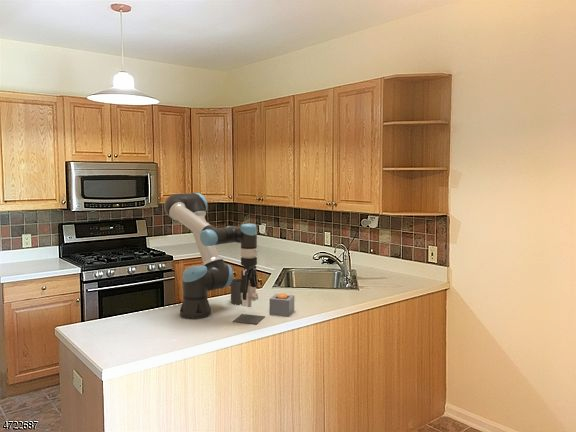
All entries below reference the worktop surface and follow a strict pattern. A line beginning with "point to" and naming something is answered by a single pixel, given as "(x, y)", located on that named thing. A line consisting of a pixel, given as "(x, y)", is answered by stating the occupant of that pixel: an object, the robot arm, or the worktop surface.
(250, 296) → the beige toy jack
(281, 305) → the housing
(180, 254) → the worktop surface
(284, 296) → the plunger
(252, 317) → the mat
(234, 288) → the mug
